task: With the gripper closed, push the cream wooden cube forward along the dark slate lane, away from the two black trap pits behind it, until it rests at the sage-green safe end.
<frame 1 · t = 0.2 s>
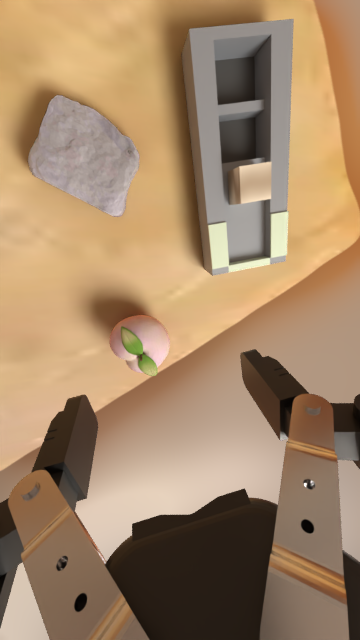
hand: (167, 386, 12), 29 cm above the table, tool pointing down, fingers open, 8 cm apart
decorative fruit: (141, 327, 42), on the table
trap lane: (233, 172, 35), on the table
stone block: (91, 161, 32), on the table
cube: (242, 186, 33), point 3 cm above the table, touching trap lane
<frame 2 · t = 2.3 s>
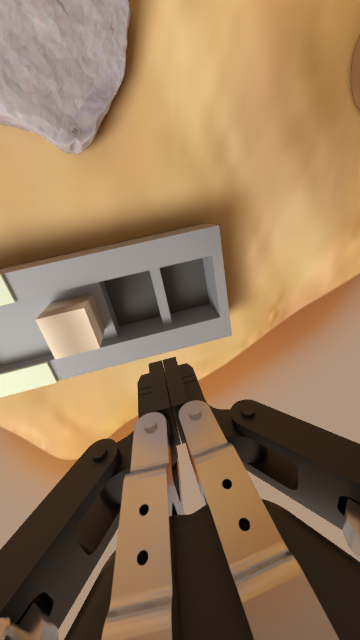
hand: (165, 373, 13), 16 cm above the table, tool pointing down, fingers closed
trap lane: (102, 301, 27), on the table
stone block: (61, 66, 20), on the table
cube: (78, 316, 24), point 3 cm above the table, touching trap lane
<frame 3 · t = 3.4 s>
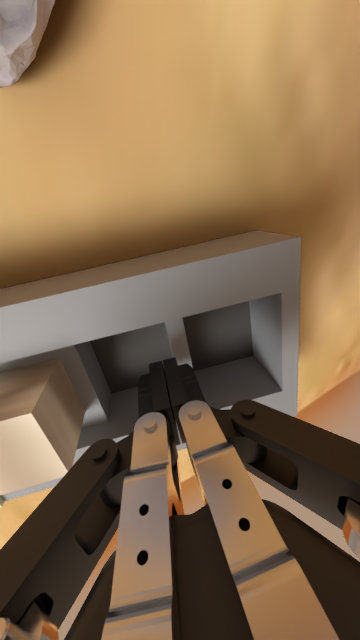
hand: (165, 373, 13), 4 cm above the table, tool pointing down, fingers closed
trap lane: (83, 358, 17), on the table
cube: (38, 395, 14), point 3 cm above the table, touching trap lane
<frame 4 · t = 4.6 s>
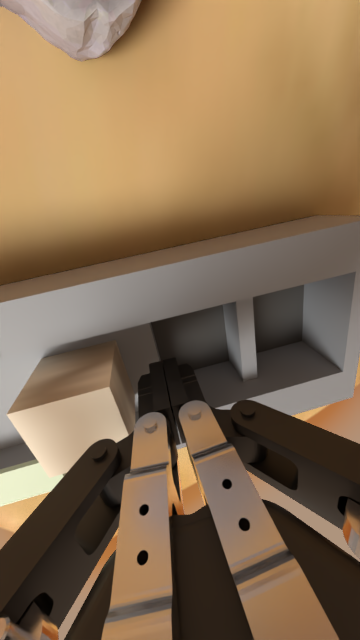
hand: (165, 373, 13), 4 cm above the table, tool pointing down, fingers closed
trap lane: (141, 341, 17), on the table
cube: (91, 378, 14), point 3 cm above the table, touching gripper
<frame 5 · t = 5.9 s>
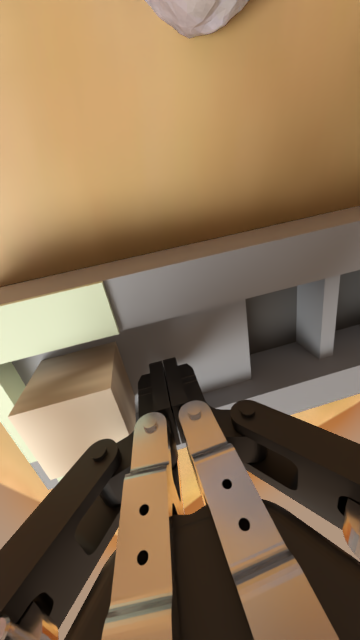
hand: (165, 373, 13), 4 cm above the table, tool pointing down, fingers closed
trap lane: (216, 322, 18), on the table
cube: (91, 379, 14), point 3 cm above the table, touching gripper, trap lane
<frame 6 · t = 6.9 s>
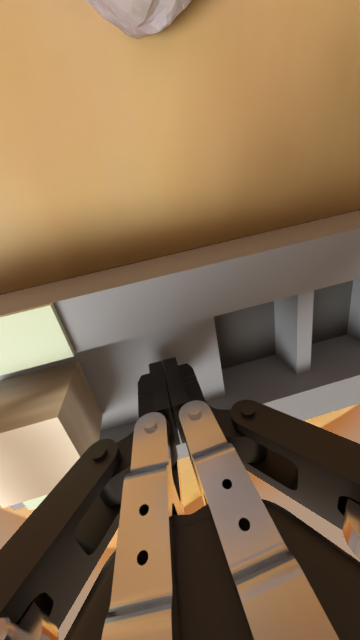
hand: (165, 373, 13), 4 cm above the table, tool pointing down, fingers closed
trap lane: (191, 335, 17), on the table
cube: (55, 398, 14), point 3 cm above the table, touching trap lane
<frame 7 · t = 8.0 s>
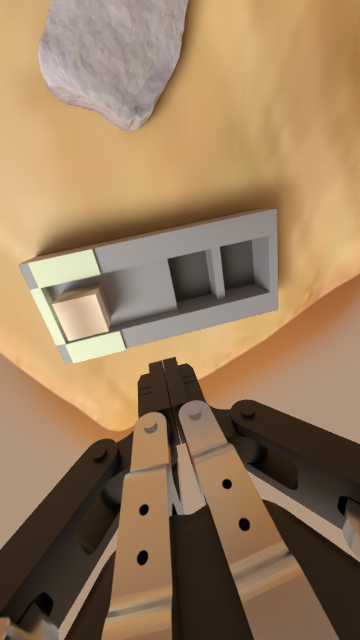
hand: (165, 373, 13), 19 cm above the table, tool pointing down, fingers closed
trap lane: (161, 279, 30), on the table
stone block: (120, 51, 22), on the table
cube: (88, 304, 27), point 3 cm above the table, touching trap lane
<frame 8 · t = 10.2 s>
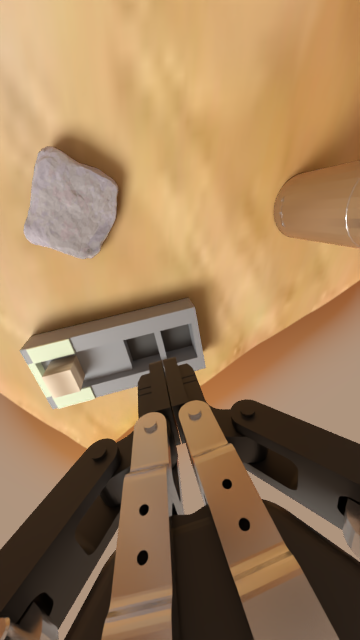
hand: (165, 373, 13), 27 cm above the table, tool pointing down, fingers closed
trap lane: (122, 345, 42), on the table
stone block: (78, 211, 34), on the table
cube: (68, 368, 39), point 3 cm above the table, touching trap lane
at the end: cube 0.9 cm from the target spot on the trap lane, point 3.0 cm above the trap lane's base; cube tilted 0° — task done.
